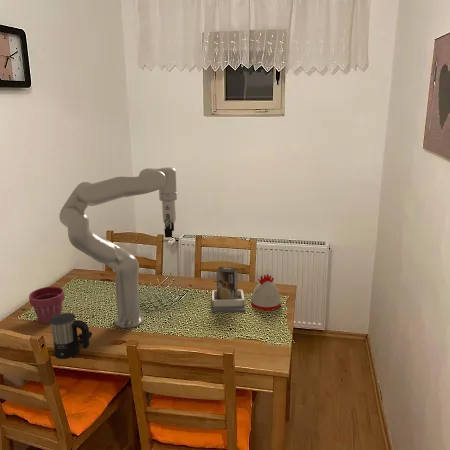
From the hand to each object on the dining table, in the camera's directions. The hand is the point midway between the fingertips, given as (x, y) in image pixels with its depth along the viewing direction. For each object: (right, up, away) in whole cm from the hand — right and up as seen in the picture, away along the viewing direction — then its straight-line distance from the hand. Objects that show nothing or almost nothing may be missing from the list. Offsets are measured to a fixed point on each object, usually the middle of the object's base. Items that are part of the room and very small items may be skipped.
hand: (169, 234), depth 198 cm
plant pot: (-53, -38, 0) cm, 66 cm away
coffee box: (+26, -32, +15) cm, 44 cm away
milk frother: (-35, -45, -23) cm, 61 cm away
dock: (+26, -33, +15) cm, 45 cm away
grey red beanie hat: (+44, -34, +14) cm, 57 cm away
